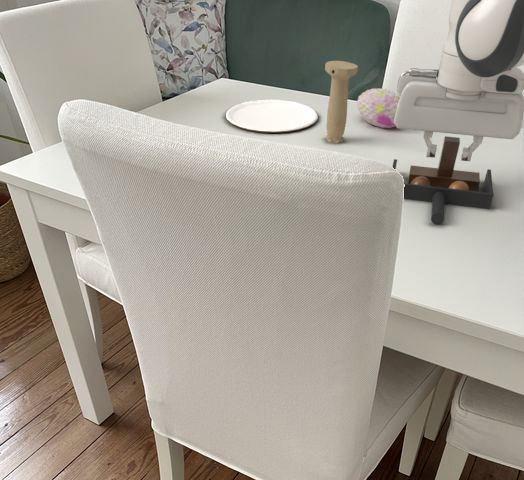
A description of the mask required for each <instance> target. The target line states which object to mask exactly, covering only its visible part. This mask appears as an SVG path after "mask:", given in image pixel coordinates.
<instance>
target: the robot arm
mask: <svg viewBox="0 0 524 480" xmlns="http://www.w3.org/2000/svg"><path fill="white" fill-rule="evenodd" d="M522 66H524V0H451V5H450V9H449V15H448V34H447V37H446V39H445V42H444V43H443V46H442V50H441V56H440V61H439V66H438V69H432V68H431V69H429V68H427V69H426V68H425V69H421V68H417V67H412V68H409V70H405V71H403V72H402V73H401V74H400V76H399V78H398V81H397V87H396V91H397V95H399V97H400V99H399V102H398V105H397V109H396V114H395V119H394V123H395V125H396V126H395V127H396V128H397V129H399V130H408V131H409V130H410V131H421V132H423V140H424V142H425V145H426V147H427V149H426V158H436V154H437V150H438V149H437V148H438V145H437V144H435V143H433V142H432V138H433V135H434V133H441V134H451V135H461V136H471V137H472V136H473V138H472V141H473V142H472V143H471V144H470V145H469V146H468V147H463V148H462V153H461V157H460V161H463V162H471V159H472V157H473V156H472V155H473V153H474V152H475V151H476V150H477V149H478V148H479V147H480V146H481V145H482V144H483V140H484V138H493V139H503V140H514V139H515V138H516V137H518V136H519V134H520V132H521V129H522V126H523V121H524V94H523V91H524V71H523V70H522V69H521V68H519V67H522Z"/></svg>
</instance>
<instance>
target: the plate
mask: <svg viewBox="0 0 524 480" xmlns="http://www.w3.org/2000/svg"><path fill="white" fill-rule="evenodd" d="M318 117H319V116H318V113H317V112H316V111H315V109H314V108H312V107H310V106H309V105H306V104H303V103H300V102H296V101H291V100H283V99H257V100H250V101H244V102H241V103H238V104H236V105H234V106H231V107H230V108H229V109H228V110H226V114H225V118H226V120H227V121H228V122H229V123H230V124H231V125H233V126H235V127H237V128H239V129H242V130H246V131H249V132H256V133H264V134H265V133H267V134H269V133H270V134H281V133H290V132H296V131H301V130H303V129H304V130H305V129H307V128H309V127H311V126H312V125H315V123H316V122H317V121H318Z"/></svg>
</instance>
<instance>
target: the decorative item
mask: <svg viewBox="0 0 524 480" xmlns="http://www.w3.org/2000/svg"><path fill="white" fill-rule="evenodd" d="M357 98H358V99H357V100H356V108H357V111H358V114H360V116H361V117H362V119H363V120H364V121H366V122H367V123H368V124H370V125H371V126H375V127H377V128H381V129H392V128H394V127H396V125H395V123H394V119H395V114H396V109H397V105H398V102H399V99H400V96H399V94H398V93H395V92H394V91H391V90H389V89H387V88H377V87H375V88H371V89H367V90H365V91H364V92H361V94H360V95H359V96H358V97H357Z"/></svg>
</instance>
